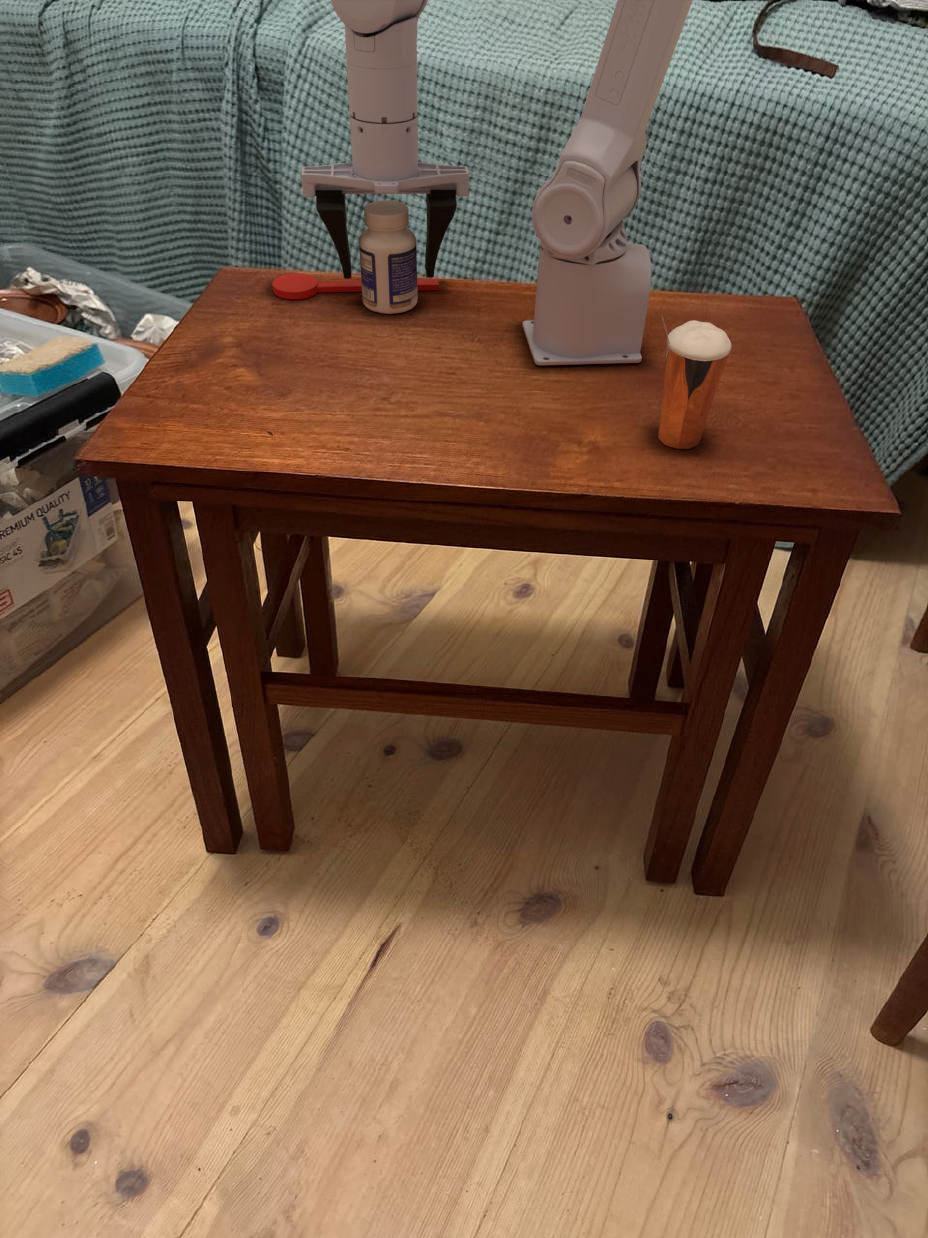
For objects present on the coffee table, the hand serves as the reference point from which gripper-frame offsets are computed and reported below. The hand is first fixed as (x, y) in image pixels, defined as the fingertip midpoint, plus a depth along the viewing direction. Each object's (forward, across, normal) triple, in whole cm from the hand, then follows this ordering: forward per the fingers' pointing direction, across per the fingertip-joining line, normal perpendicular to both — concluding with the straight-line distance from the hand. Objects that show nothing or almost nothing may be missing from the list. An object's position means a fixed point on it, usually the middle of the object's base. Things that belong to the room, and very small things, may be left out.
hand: (388, 273), depth 87 cm
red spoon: (+3, -4, +3) cm, 6 cm away
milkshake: (+3, +21, -25) cm, 33 cm away
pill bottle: (+3, 0, 0) cm, 3 cm away
